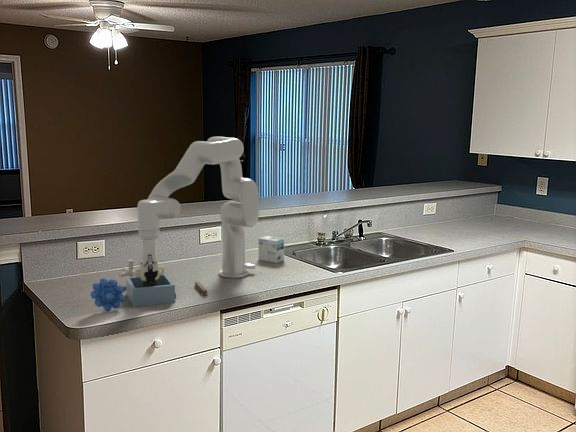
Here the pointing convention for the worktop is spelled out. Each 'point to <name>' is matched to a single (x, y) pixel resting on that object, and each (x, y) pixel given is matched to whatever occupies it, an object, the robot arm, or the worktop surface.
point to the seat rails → (199, 288)
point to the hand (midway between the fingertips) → (150, 278)
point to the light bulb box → (271, 249)
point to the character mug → (143, 274)
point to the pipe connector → (129, 270)
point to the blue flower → (107, 294)
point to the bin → (150, 291)
